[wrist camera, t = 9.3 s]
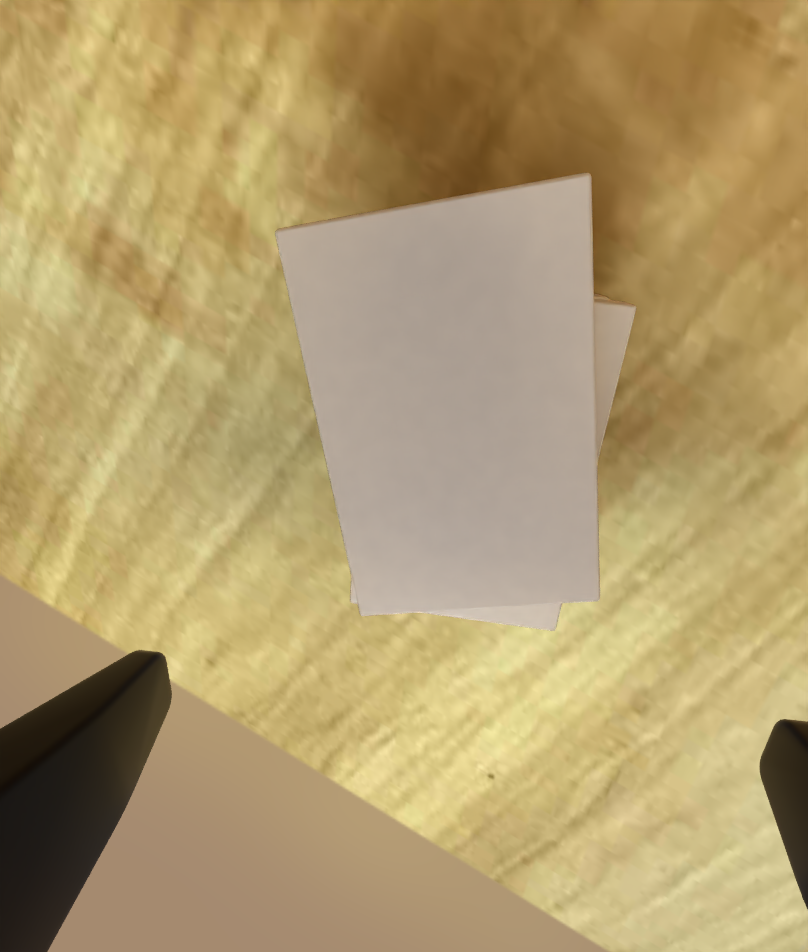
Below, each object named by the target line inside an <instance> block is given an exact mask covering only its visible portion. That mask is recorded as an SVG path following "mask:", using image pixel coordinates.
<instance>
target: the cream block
mask: <svg viewBox="0 0 808 952" xmlns="http://www.w3.org/2000/svg"><path fill="white" fill-rule="evenodd" d="M275 236H276V240H277V245H278V249H279V254H280V258H281V263H282V267H283V272H284V276H285V281H286V285H287V290H288V294H289V299H290V303H291V308H292V312H293V317H294V321H295V326H296V330H297V335H298V339H299V343H300V348H301V352H302V357H303V361H304V366H305V370H306V375H307V379H308V384H309V388H310V393H311V397H312V402H313V406H314V411H315V415H316V420H317V424H318V429H319V433H320V438H321V442H322V447H323V451H324V456H325V460H326V464H327V469H328V473H329V478H330V482H331V487H332V491H333V496H334V500H335V505H336V509H337V514H338V518H339V523H340V527H341V532H342V536H343V541H344V545H345V550H346V554H347V559H348V563H349V568H350V572H351V577H352V581H353V585H354V590H355V594H356V599H357V603H358V608H359V612H360V615H361V616H370V615H386V614H402V613H417V612H433V611H449V610H464V609H480V608H496V607H512V606H527V605H543V604H559V603H574V602H590V601H598V600H599V599H600V568H599V519H598V471H597V422H596V373H595V325H594V276H593V227H592V178H591V175H590V173H581V174H576V175H570V176H565V177H559V178H554V179H548V180H543V181H537V182H532V183H526V184H521V185H515V186H510V187H504V188H499V189H493V190H488V191H482V192H477V193H471V194H466V195H460V196H455V197H449V198H444V199H438V200H433V201H427V202H422V203H416V204H411V205H405V206H400V207H394V208H389V209H383V210H378V211H372V212H367V213H361V214H356V215H350V216H345V217H339V218H334V219H328V220H323V221H317V222H312V223H306V224H301V225H295V226H290V227H284V228H279V229H277V230H276V231H275Z"/></svg>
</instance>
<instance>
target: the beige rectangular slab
mask: <svg viewBox="0 0 808 952" xmlns="http://www.w3.org/2000/svg"><path fill="white" fill-rule="evenodd" d="M635 312H636V306H635V305H632V304H629V303H626V302H623V301H615V300H609V298H608V297H606V296H603V295H600V294H594V325H595V373H596V422H597V463H598V459H599V455H600V451H601V447H602V443H603V439H604V435H605V431H606V427H607V423H608V419H609V415H610V411H611V407H612V403H613V399H614V395H615V391H616V387H617V384H618V380H619V376H620V372H621V368H622V364H623V360H624V356H625V352H626V348H627V344H628V340H629V336H630V332H631V328H632V324H633V320H634V316H635ZM350 602H351V603H355V604H358V603H357V599H356V594H355V590H354V585H353V581H352V577H351V590H350ZM561 606H562V603H559V604H543V605H527V606H512V607H496V608H480V609H464V610H449V611H433V612H420V613H427V614H434V615H442V616H449V617H456V618H463V619H470V620H478V621H485V622H492V623H499V624H507V625H514V626H521V627H528V628H535V629H543V630H550V631H555V629H556V626H557V622H558V618H559V614H560V610H561Z"/></svg>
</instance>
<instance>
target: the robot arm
mask: <svg viewBox="0 0 808 952" xmlns="http://www.w3.org/2000/svg"><path fill="white" fill-rule="evenodd" d="M171 698H172V691H171V685H170V679H169V674H168V668H167V662H166V658H165V656H164V655H163V654H162V653H160V652H153V651H143V650H138V651H134V652H132V653H130V654H128V655H127V656H125V657H123V658H121V659H120V660H118V661H117V662H114V663H113V664H111V665H109V666H108V667H106V668H104V669H102V670H101V671H99V672H97V673H96V674H94V675H92V676H90V677H89V678H87V679H85V680H83V681H82V682H80V683H78V684H77V685H75V686H73V687H71V688H70V689H68V690H66V691H65V692H63V693H61V694H59V695H58V696H56V697H54V698H53V699H51V700H49V701H48V702H46V703H44V704H42V705H40V706H39V707H37V708H35V709H34V710H32V711H30V712H28V713H27V714H25V715H23V716H22V717H20V718H18V719H16V720H15V721H13V722H11V723H9V724H8V725H6V726H4V727H3V728H1V729H0V952H47V951H48V949H49V948H50V946H51V944H52V942H53V940H54V938H55V937H56V935H57V933H58V931H59V929H60V928H61V926H62V924H63V922H64V920H65V918H66V917H67V915H68V913H69V911H70V909H71V908H72V906H73V904H74V902H75V900H76V898H77V897H78V895H79V893H80V891H81V889H82V888H83V886H84V884H85V882H86V880H87V878H88V877H89V875H90V873H91V871H92V869H93V867H94V866H95V864H96V862H97V860H98V858H99V857H100V854H101V853H102V851H103V849H104V847H105V845H106V844H107V842H108V840H109V838H110V837H111V835H112V833H113V831H114V829H115V827H116V825H117V824H118V822H119V820H120V818H121V816H122V814H123V812H124V810H125V808H126V806H127V804H128V802H129V799H130V797H131V795H132V793H133V791H134V788H135V786H136V784H137V781H138V779H139V777H140V774H141V772H142V770H143V768H144V765H145V763H146V761H147V758H148V756H149V754H150V752H151V749H152V747H153V745H154V742H155V740H156V737H157V735H158V733H159V731H160V728H161V726H162V724H163V721H164V719H165V717H166V715H167V712H168V710H169V707H170V704H171ZM760 775H761V779H762V782H763V785H764V788H765V791H766V794H767V796H768V799H769V802H770V805H771V808H772V811H773V814H774V817H775V820H776V823H777V826H778V829H779V831H780V834H781V837H782V840H783V843H784V846H785V849H786V852H787V855H788V858H789V861H790V864H791V866H792V869H793V872H794V875H795V878H796V881H797V884H798V886H799V889H800V892H801V894H802V897H803V900H804V902H805V904H806V907H807V909H808V722H806V721H797V720H787V719H783V720H780V721H778V722H777V723H776V724H775V725H774V728H773V730H772V732H771V735H770V737H769V739H768V742H767V744H766V747H765V749H764V751H763V754H762V756H761V759H760Z"/></svg>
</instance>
